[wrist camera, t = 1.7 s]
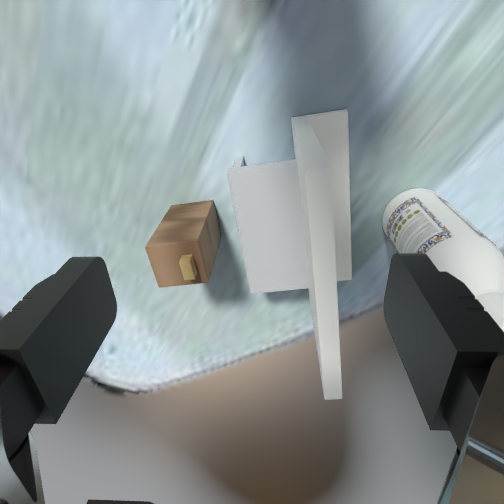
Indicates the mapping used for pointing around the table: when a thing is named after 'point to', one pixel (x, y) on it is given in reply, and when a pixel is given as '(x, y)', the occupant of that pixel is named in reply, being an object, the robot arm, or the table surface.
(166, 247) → the brown tall block
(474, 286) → the bath foam
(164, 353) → the table surface
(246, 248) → the wall shelf
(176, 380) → the table surface
